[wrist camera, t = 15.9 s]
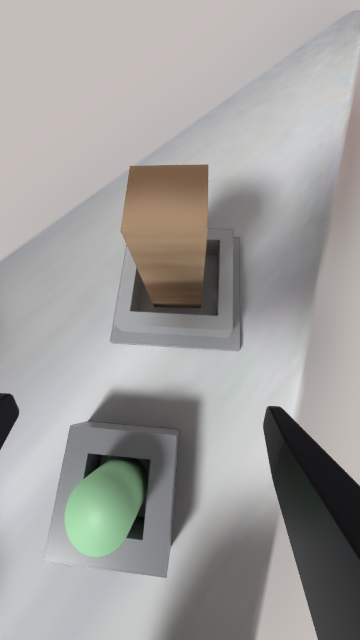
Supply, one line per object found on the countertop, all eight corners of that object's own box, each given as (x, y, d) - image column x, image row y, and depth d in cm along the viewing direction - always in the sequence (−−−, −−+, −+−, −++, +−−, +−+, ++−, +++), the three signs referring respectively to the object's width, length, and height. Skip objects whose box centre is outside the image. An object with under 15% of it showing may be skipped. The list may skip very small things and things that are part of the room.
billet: (200, 308, 22) (207, 230, 12) (154, 307, 22) (120, 230, 12) (201, 266, 24) (208, 164, 13) (157, 266, 24) (130, 166, 13)
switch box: (170, 547, 17) (166, 577, 14) (67, 534, 18) (43, 560, 15) (179, 429, 20) (176, 435, 17) (87, 421, 20) (70, 425, 17)
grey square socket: (238, 351, 21) (246, 344, 18) (112, 343, 22) (99, 335, 19) (238, 241, 25) (244, 220, 22) (129, 237, 26) (121, 217, 23)
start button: (144, 518, 17) (127, 561, 13) (91, 512, 17) (57, 552, 13) (150, 456, 18) (137, 476, 14) (101, 452, 18) (72, 469, 14)
